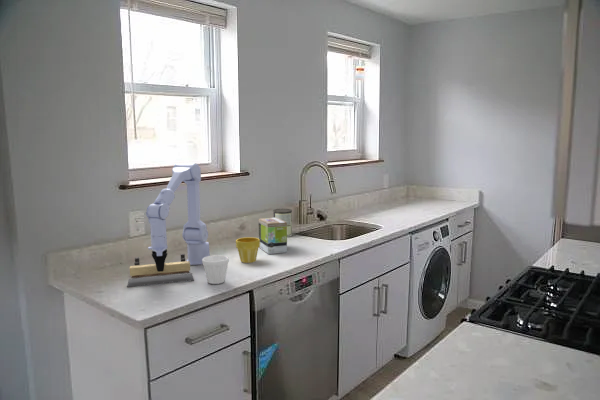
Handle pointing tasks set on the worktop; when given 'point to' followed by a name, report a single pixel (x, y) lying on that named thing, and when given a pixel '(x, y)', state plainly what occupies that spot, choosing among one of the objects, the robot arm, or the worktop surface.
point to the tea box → (273, 235)
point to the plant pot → (248, 249)
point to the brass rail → (153, 270)
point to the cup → (215, 268)
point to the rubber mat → (160, 280)
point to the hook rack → (159, 273)
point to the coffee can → (285, 218)
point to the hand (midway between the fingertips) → (160, 269)
